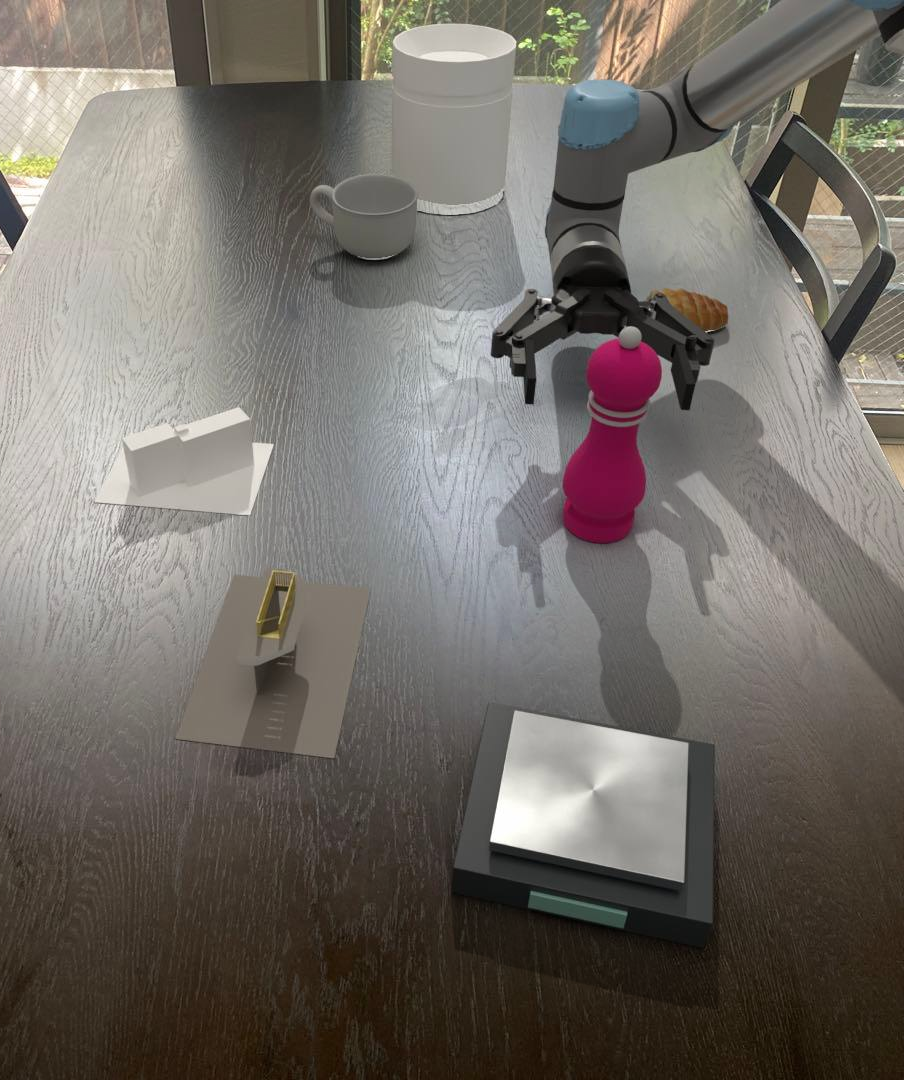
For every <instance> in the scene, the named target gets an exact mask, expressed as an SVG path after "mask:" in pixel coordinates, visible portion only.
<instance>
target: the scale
mask: <svg viewBox="0 0 904 1080" xmlns="http://www.w3.org/2000/svg"><path fill="white" fill-rule="evenodd" d="M515 710H516V711H521V712H526V713H532V714H537V715H542V716H548V717H553V718H558V719H564V720H569V721H574V722H580V723H585V724H590V725H596V726H601V727H606V728H612V729H617V730H622V731H628V732H633V733H638V734H644V735H649V736H654V737H660V738H665V739H671V740H676V741H681V742H687V743H689V756H688V786H687V817H686V848H685V879H684V885H683V888H682V891H678V890H674V889H669V888H664V887H659V886H655V885H650V884H645V883H641V882H636V881H631V880H627V879H622V878H617V877H612V876H608V875H603V874H598V873H594V872H589V871H584V870H579V869H575V868H570V867H565V866H561V865H556V864H551V863H547V862H542V861H537V860H532V859H528V858H523V857H518V856H514V855H509V854H504V853H499V852H495V851H490V850H489V842H490V837H491V831H492V826H493V821H494V815H495V810H496V805H497V800H498V794H499V789H500V784H501V778H502V773H503V768H504V763H505V757H506V752H507V747H508V741H509V736H510V731H511V726H512V720H513V715H514V711H515ZM715 758H716V745H715V744H714V743H709V742H704V741H697V740H693V739H687V738H682V737H676V736H671V735H665V734H661V733H657V732H651V731H645V730H641V729H640V730H638V729H634V728H628V727H623V726H619V725H618V726H617V725H614V724H613V725H612V724H606V723H601V722H596V721H590V720H585V719H580V718H575V717H570V716H566V715H565V716H564V715H559V714H554V713H548V712H544V711H543V712H542V711H537V710H532V709H527V708H521V707H517V706H516V707H515V706H510V705H505V704H499V703H495V702H488V703H487V705H486V711H485V716H484V720H483V725H482V729H481V735H480V739H479V744H478V748H477V754H476V759H475V762H474V768H473V772H472V777H471V781H470V786H469V790H468V795H467V800H466V804H465V810H464V813H463V819H462V824H461V828H460V833H459V837H458V841H457V842H458V843H457V847H456V852H455V855H454V860H453V865H452V872H451V873H452V874H451V885H450V886H451V887H450V892H451V893H452V894H456V895H460V896H464V897H470V898H474V899H477V900H478V899H479V900H484V901H488V902H492V903H498V904H501V905H506V906H511V907H515V908H520V909H524V910H529V911H532V912H538V913H542V914H547V915H551V916H555V917H561V918H563V919H569V920H574V921H578V922H581V923H582V922H583V923H587V924H591V925H597V926H601V927H605V928H610V929H614V930H619V931H623V932H627V933H632V934H637V935H642V936H647V937H649V938H650V937H651V938H655V939H660V940H663V941H664V940H665V941H669V942H672V943H678V944H683V945H687V946H691V947H695V948H700V949H704V947H705V945H706V942H707V939H708V937H709V936H710V932H711V929H712V927H713V925H714V876H715V875H714V871H715V869H714V864H715V863H714V862H715V859H714V858H715V846H714V845H715V775H716V774H715V770H716V769H715V768H716V767H715V765H716V763H715V762H716V761H715V760H716V759H715Z"/></svg>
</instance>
